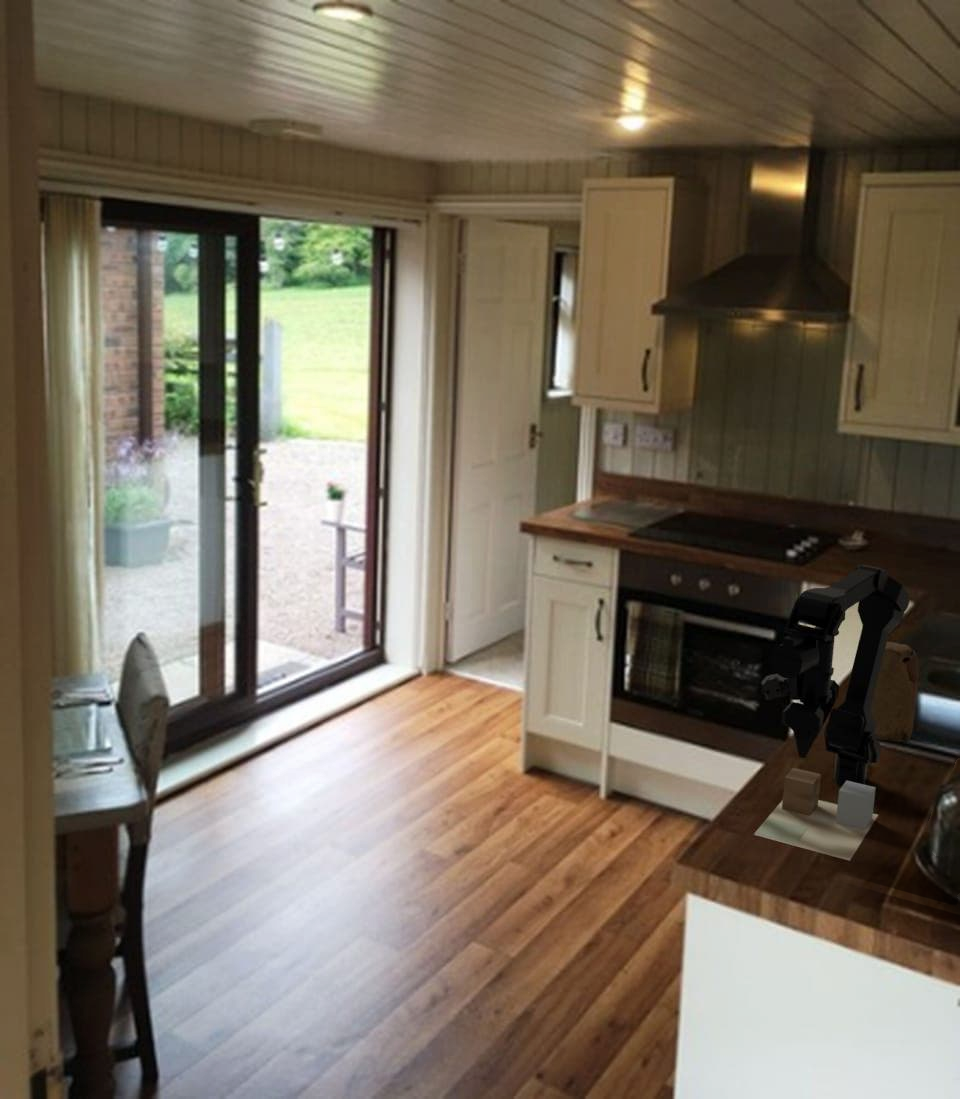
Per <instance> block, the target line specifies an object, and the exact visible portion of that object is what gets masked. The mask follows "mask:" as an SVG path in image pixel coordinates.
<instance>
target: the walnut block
mask: <svg viewBox="0 0 960 1099" xmlns="http://www.w3.org/2000/svg"><path fill="white" fill-rule="evenodd" d="M821 775H822V774H821V773H816V772H814V771H813V772H812V771H809V770H806V769H805V770H804V769H800V768H796V767H792V768H791V769H790V770H789V772H788V773H787V774H786V775H785V777H784V781H783V782H784V784H783V793H782V800H783V802H782V809H785V810H789V811H793V812H797V813H801V814H805V815H809V816H810V815H811V814H812V812H813V811H814V810H815V808H816V807H817V806H818V800H819V796H820V788H821V786H820V785H821V777H822V776H821Z"/></svg>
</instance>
